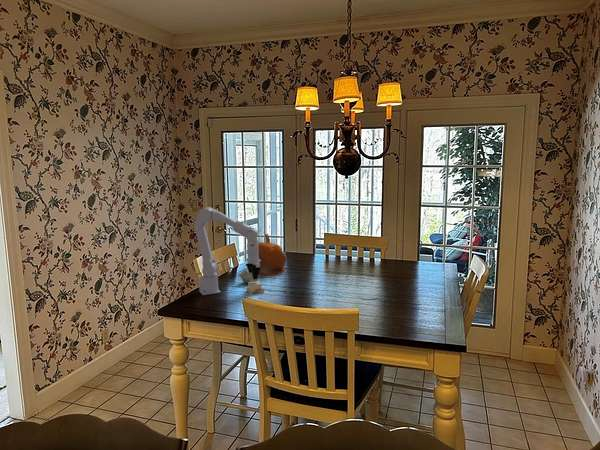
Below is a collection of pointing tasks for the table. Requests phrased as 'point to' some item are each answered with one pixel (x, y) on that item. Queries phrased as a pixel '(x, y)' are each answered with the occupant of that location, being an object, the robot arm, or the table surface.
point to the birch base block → (255, 290)
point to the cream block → (254, 285)
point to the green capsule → (252, 278)
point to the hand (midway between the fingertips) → (253, 278)
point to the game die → (245, 276)
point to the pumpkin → (271, 258)
